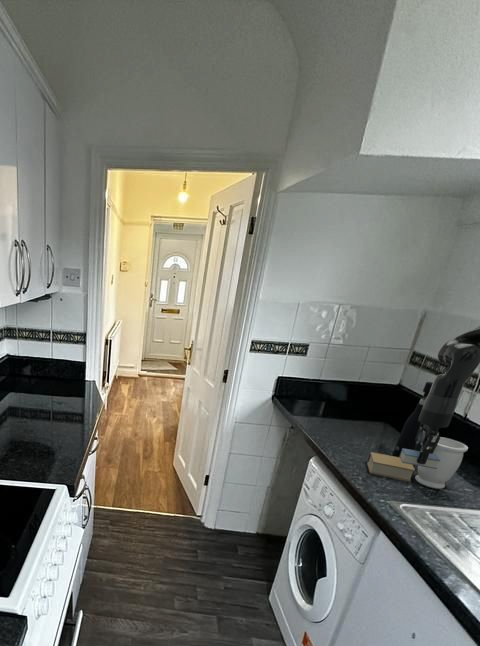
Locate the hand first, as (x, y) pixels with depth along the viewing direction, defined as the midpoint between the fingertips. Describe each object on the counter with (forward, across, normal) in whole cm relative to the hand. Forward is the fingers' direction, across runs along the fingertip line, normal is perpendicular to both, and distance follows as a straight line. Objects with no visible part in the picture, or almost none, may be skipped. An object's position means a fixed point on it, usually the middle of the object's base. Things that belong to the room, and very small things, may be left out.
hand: (418, 459), depth 131 cm
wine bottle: (+11, +26, -2) cm, 28 cm away
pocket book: (+1, 0, 0) cm, 1 cm away
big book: (+10, +11, +4) cm, 16 cm away
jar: (+11, +9, -8) cm, 16 cm away
